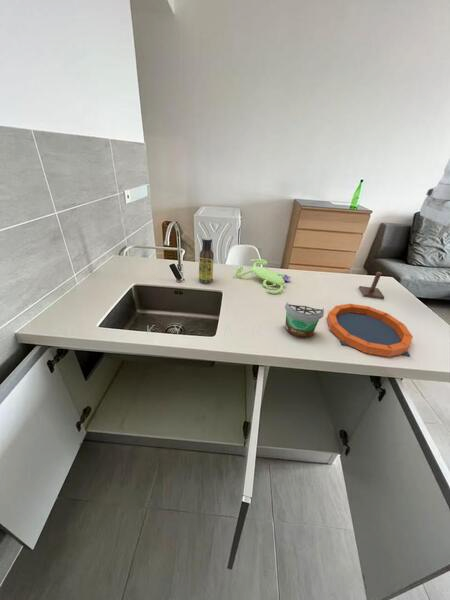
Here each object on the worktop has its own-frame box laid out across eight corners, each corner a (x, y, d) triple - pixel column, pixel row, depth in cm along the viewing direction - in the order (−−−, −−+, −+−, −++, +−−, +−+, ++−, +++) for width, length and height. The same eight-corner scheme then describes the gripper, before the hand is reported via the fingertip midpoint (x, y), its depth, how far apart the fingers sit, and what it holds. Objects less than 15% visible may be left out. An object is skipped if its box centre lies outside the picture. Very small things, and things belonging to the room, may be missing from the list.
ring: (391, 315, 93) (394, 309, 91) (422, 362, 72) (427, 356, 70) (323, 305, 96) (325, 300, 95) (334, 347, 75) (336, 341, 74)
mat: (386, 319, 91) (386, 318, 91) (409, 356, 74) (410, 355, 74) (330, 311, 94) (331, 310, 94) (341, 345, 77) (341, 344, 77)
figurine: (255, 265, 128) (257, 255, 125) (299, 284, 112) (301, 273, 109) (230, 274, 117) (231, 263, 115) (274, 296, 101) (276, 284, 98)
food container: (279, 336, 79) (285, 311, 74) (280, 325, 84) (285, 301, 79) (319, 343, 77) (327, 318, 72) (317, 332, 82) (325, 307, 77)
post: (377, 290, 110) (386, 270, 105) (383, 299, 104) (393, 278, 98) (358, 288, 112) (366, 267, 106) (363, 296, 105) (372, 275, 100)
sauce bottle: (197, 283, 108) (196, 239, 98) (201, 277, 113) (201, 235, 103) (211, 285, 107) (212, 241, 97) (214, 279, 112) (215, 236, 102)
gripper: (481, 198, 74) (457, 243, 81) (443, 190, 91) (426, 227, 99) (458, 197, 75) (436, 241, 82) (425, 189, 92) (409, 226, 99)
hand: (430, 233), depth 91 cm, fingers open, 8 cm apart
